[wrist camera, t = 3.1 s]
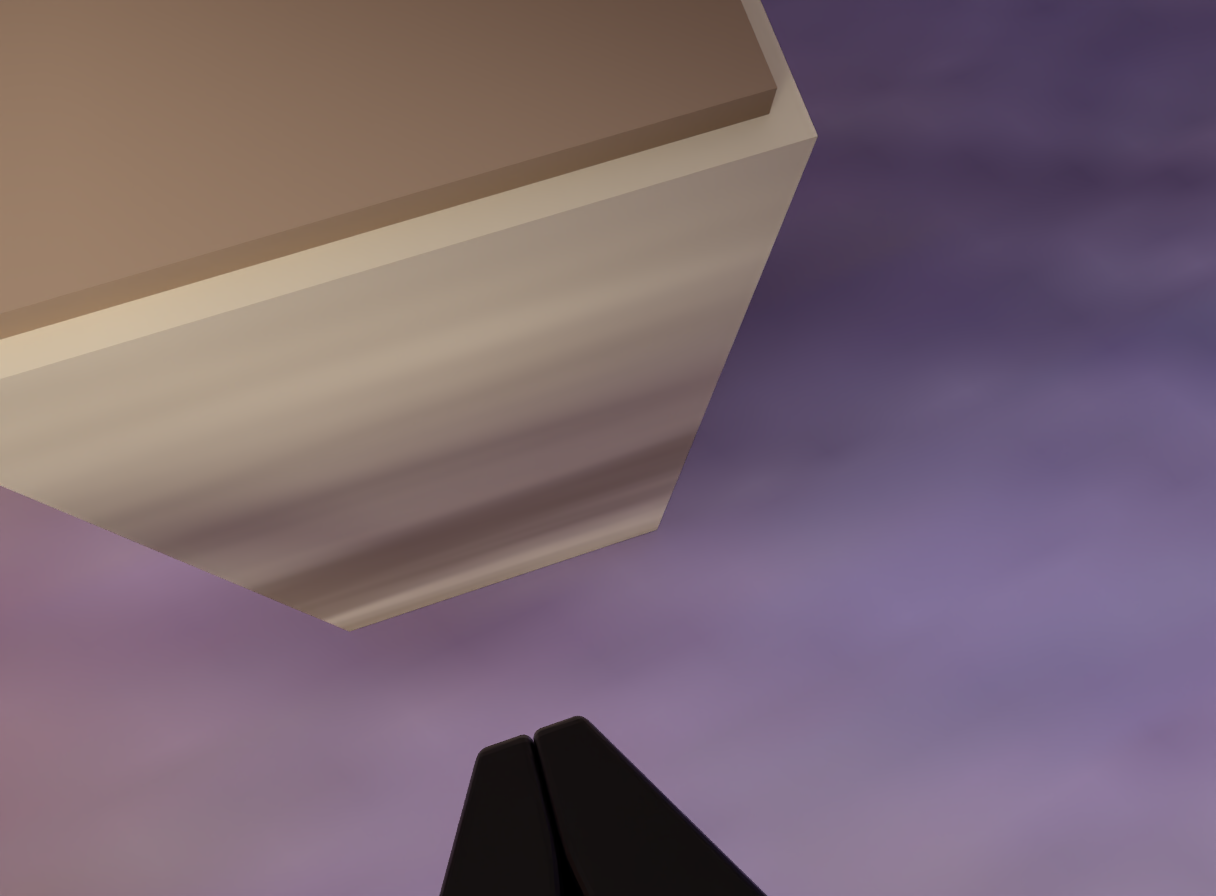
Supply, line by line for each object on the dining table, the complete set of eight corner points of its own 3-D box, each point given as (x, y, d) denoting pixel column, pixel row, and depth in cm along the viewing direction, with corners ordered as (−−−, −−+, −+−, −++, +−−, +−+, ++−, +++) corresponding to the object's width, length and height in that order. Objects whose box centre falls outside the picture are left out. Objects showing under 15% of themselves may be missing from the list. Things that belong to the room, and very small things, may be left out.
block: (657, 529, 17) (828, 110, 6) (349, 631, 17) (-184, 408, 5) (558, 250, 19) (527, -595, 7) (267, 337, 18) (-329, -410, 6)
